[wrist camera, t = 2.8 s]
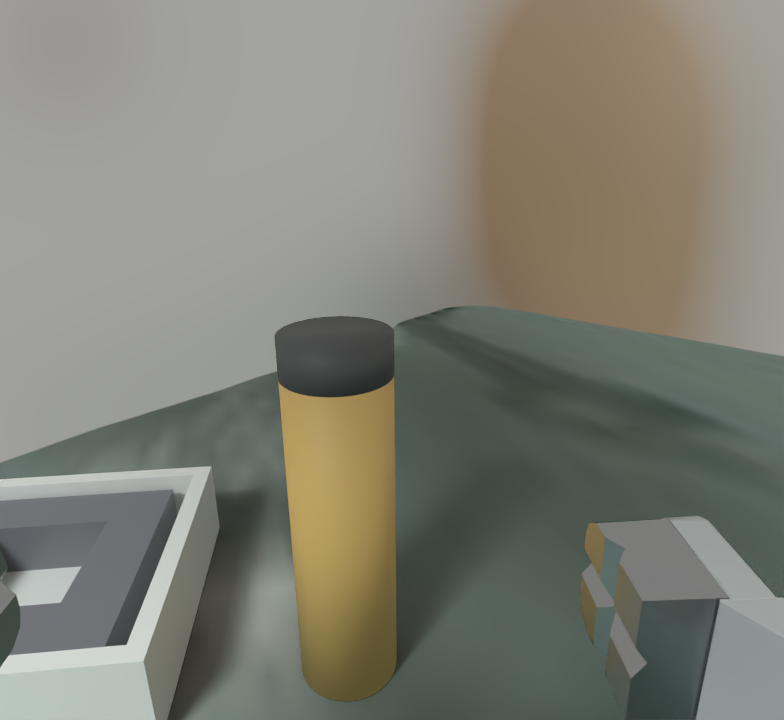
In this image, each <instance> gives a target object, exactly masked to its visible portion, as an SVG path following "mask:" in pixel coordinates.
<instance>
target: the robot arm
mask: <svg viewBox="0 0 784 720" xmlns="http://www.w3.org/2000/svg"><path fill="white" fill-rule="evenodd" d="M584 548H585V550H586V552H587V554H588V556H589V558H590V560H591V562H592V563H591V564H590V565H589V566H588V568H587V569H586V570H585V571H584V572H583V573H582V576H581V592H580V596H581V605H582V614H583V618H584V622H585V625H586V629H587V632H588V634H589V637H590V639H591V642H592V644H593V646H594V647H595V648H597V649H598V650H599V651H601V652H602V653H603V654H605V655H606V656H607V662H606V671H605V675H606V677H607V679H608V682H609V684H610V686H611V688H612V691H613V693H614V695H615V698H616V700H617V702H618V705H619V707H620V709H621V711H622V714H623V716H624V718H625V720H784V598H776V597H775V595H774V594H773V593H772V592H771V591H770V590H769V589H768V588H767V586H766V585H765V584H764V583H763V582H762V581H761V580H760V579H759V577H758V576H757V575H756V574H755V573H754V572H753V571H752V570H751V568H750V567H749V566H748V565H747V564H746V563H745V562H744V561H743V559H742V558H741V557H740V556H739V555H738V554H737V553H736V552H735V550H734V549H733V548H732V547H731V546H730V545H729V544H728V543H727V541H726V540H725V539H724V538H723V537H722V536H721V535H720V534H719V532H718V531H717V530H716V529H715V528H714V527H713V526H712V525H711V523H710V522H709V521H708V520H706V519H704V518H702V517H700V516H687V517H672V518H662V519H656V520H634V521H612V522H590V523H589V526H588V528H587V531H586V537H585V545H584ZM7 569H8V567H7V564H6V561H5V558H4V556H3V553H2V550H1V548H0V667H1V666H2V664H3V663H4V661H5V660H6V658H7V657H8V656H9V654H10V653H11V651H12V650H13V648H14V644H15V641H16V638H17V635H18V632H19V629H20V606H19V603H18V599H17V596H16V594H15V593H14V592H13V591H11V590H10V589H9V588H8V587H7V586H5V585H4V584H3V583H2V582H1V581H2V579H3V577H4V575H5V573H6V571H7Z"/></svg>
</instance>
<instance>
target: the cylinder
mask: <svg viewBox="0 0 784 720" xmlns="http://www.w3.org/2000/svg"><path fill="white" fill-rule="evenodd" d="M275 347H276V359H277V371H278V383H279V395H280V407H281V419H282V431H283V443H284V456H285V468H286V480H287V492H288V504H289V516H290V528H291V540H292V552H293V564H294V576H295V589H296V601H297V613H298V625H299V637H300V649H301V661H302V671H303V675H304V678H305V680H306V682H307V683H308V685H309V686H310V687H311V688H312V689H313V690H314V691H315V692H317V693H318V694H320V695H321V696H323V697H325V698H328V699H331V700H336V701H356V700H361V699H364V698H367V697H369V696H371V695H373V694H375V693H377V692H378V691H380V690H381V689H382V688H383V687H384V686H385V685H386V684H387V683H388V682H389V681H390V679H391V678H392V676H393V674H394V672H395V668H396V664H397V621H396V511H395V401H394V330H393V329H392V328H391V327H390V326H389V325H387V324H385V323H383V322H380V321H377V320H373V319H368V318H361V317H343V316H338V317H321V318H313V319H307V320H303V321H299V322H295V323H292V324H289V325H287V326H285V327H283V328H281V329H280V330H278V331H277V332H276V334H275Z"/></svg>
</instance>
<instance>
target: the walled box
mask: <svg viewBox="0 0 784 720" xmlns="http://www.w3.org/2000/svg"><path fill="white" fill-rule="evenodd" d="M219 528H220V527H219V519H218V512H217V504H216V496H215V489H214V481H213V474H212V466H208V467H192V468H176V469H159V470H143V471H127V472H111V473H95V474H79V475H63V476H47V477H31V478H15V479H0V548H1V550H2V553H3V556H4V558H5V561H6V564H7V567H8V569H7V571H6V573H5V575H4V577H3V579H2V581H1V582H2V583H3V584H4V585H5V586H7V587H8V588H9V589H10V590H11V591H13V592H14V593H15V594H16V596H17V599H18V603H19V606H20V629H19V632H18V635H17V638H16V641H15V644H14V648H13V650H12V651H11V653H10V654H9V656H8V657H7V658H6V660H5V661H4V663H3V664H2V666H1V667H0V720H167V719H168V716H169V712H170V708H171V705H172V701H173V697H174V694H175V690H176V686H177V683H178V679H179V675H180V672H181V668H182V664H183V661H184V657H185V653H186V650H187V646H188V642H189V638H190V635H191V631H192V627H193V624H194V620H195V616H196V613H197V609H198V605H199V602H200V598H201V594H202V591H203V587H204V583H205V580H206V576H207V572H208V569H209V565H210V561H211V558H212V554H213V550H214V547H215V543H216V539H217V536H218V532H219Z"/></svg>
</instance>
